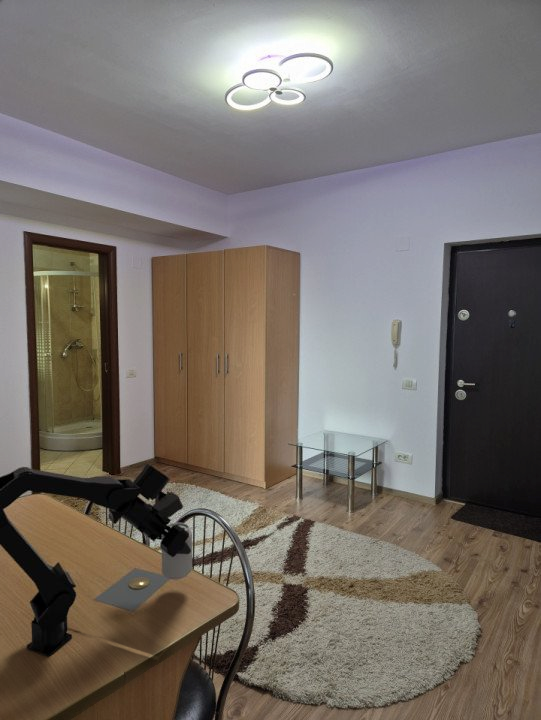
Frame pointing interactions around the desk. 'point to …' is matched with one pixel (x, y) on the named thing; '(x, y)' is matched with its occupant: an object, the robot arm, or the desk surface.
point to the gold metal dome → (139, 583)
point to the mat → (132, 590)
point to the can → (178, 558)
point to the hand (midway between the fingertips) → (181, 546)
